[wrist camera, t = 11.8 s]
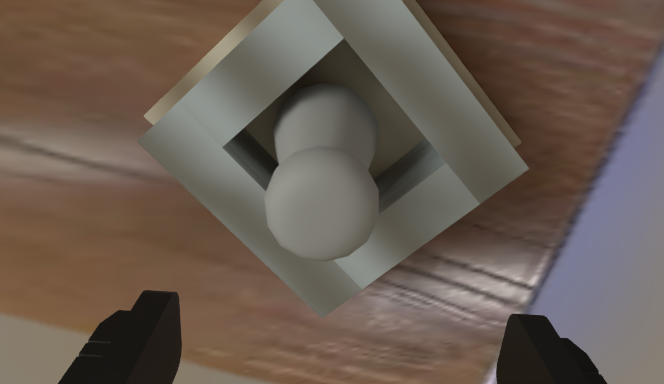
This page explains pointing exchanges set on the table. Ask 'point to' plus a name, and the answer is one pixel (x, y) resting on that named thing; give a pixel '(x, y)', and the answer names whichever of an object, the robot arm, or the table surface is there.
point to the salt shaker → (323, 173)
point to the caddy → (386, 104)
